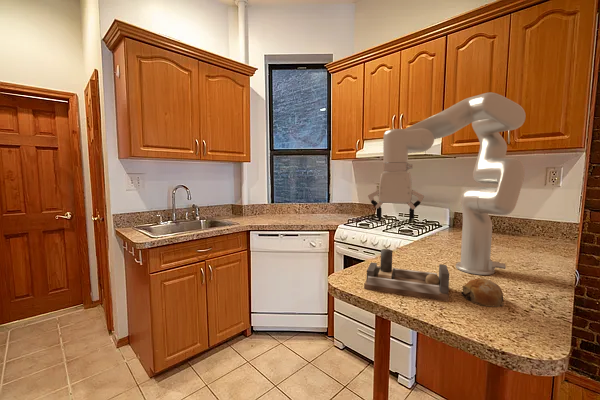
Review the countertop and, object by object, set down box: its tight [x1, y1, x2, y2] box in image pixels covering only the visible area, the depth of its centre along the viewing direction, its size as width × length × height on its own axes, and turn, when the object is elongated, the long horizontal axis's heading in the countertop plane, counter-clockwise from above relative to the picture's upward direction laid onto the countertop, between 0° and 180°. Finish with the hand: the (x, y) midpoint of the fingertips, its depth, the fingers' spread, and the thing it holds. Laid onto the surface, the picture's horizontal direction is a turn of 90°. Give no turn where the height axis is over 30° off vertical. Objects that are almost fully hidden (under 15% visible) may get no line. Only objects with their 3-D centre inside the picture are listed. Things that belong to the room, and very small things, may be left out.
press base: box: [363, 262, 450, 302], centre depth 91 cm, size 24×12×8 cm, turn 68°
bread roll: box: [461, 277, 505, 308], centre depth 82 cm, size 10×10×8 cm
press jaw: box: [378, 248, 395, 279], centre depth 93 cm, size 5×9×10 cm, turn 158°
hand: (394, 220), depth 94 cm, fingers open, 9 cm apart
